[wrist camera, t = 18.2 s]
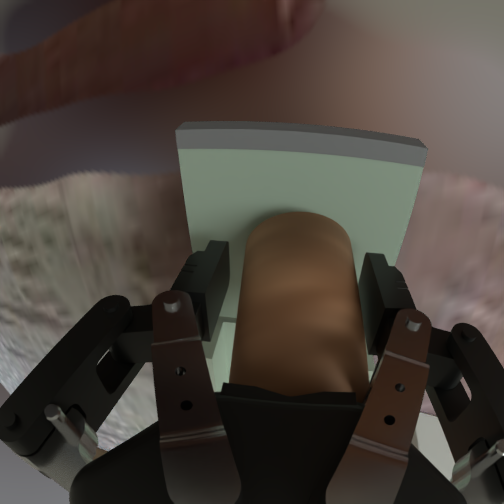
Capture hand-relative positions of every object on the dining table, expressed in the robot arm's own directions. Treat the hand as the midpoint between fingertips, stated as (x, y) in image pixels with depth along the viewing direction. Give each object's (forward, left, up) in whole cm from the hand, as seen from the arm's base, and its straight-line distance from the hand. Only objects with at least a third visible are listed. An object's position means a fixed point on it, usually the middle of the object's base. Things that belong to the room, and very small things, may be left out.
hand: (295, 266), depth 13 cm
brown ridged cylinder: (0, 0, -1) cm, 1 cm away
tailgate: (-5, 0, -3) cm, 6 cm away
